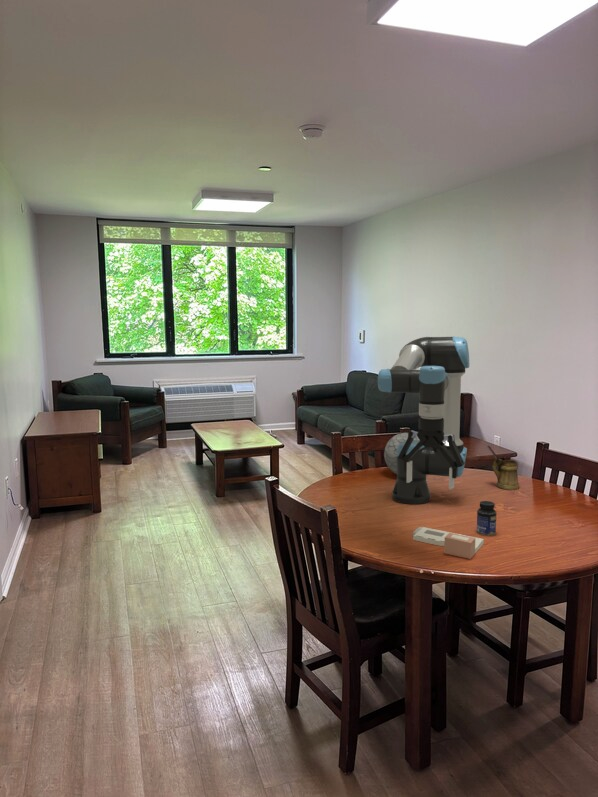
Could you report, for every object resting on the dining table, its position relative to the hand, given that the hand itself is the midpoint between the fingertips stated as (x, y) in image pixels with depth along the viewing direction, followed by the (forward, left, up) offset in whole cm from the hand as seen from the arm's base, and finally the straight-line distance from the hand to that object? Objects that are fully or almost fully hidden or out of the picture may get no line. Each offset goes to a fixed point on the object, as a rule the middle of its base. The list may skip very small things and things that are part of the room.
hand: (429, 485), depth 175 cm
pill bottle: (+12, +22, -21) cm, 32 cm away
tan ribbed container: (+3, +80, -21) cm, 82 cm away
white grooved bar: (+4, +7, -20) cm, 22 cm away
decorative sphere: (-39, +75, -21) cm, 87 cm away
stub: (+10, 0, -20) cm, 22 cm away
